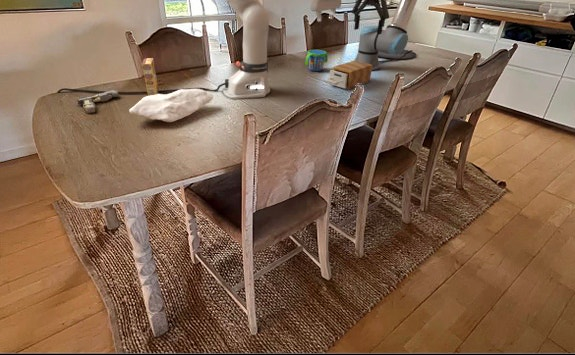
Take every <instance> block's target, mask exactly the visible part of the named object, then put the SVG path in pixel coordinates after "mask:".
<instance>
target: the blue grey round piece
mask: <svg viewBox="0 0 575 355" xmlns="http://www.w3.org/2000/svg"><path fill="white" fill-rule="evenodd" d="M408 51H409V50H408V49H404V50H403V51H402V52H401V53H400V54H398V55H393V54H392V55H391V54H388V53H383V52H379V51H378V57H380V58H386V59H397V58H399V60H404V59H405V60H406V59H412V58H415V57H416V56H417V54H416V52H414V51H412V52H409V53H407V54H406V55H405V56H404V57H402V56H403V55H404V54H405V53H406V52H408ZM400 57H402V58H400Z"/></svg>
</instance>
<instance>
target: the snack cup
mask: <svg viewBox="0 0 575 355" xmlns="http://www.w3.org/2000/svg"><path fill="white" fill-rule="evenodd" d="M325 63H328V53H327V51H325V50H322V49H309V50H307V54H306V57H305V61H304V64H305V66H306V67H308V68H309V70H310V71H312V72H321V71H323V69H324V64H325Z"/></svg>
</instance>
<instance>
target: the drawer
mask: <svg viewBox="0 0 575 355" xmlns="http://www.w3.org/2000/svg"><path fill="white" fill-rule="evenodd" d="M348 79H349V73H346V72H343V71H339V70H335V71H334V70H333V69H330V70H329V78H326V77H325V78H324V79H323V82H324V83H326V84H329V85H333V86H336V87H338V88H342V89H346V86H348Z"/></svg>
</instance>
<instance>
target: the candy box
mask: <svg viewBox="0 0 575 355" xmlns="http://www.w3.org/2000/svg"><path fill="white" fill-rule="evenodd" d="M141 66H142V73H143V78H144V82H145V87H146V91H147V93H146V94H147V96H150V95H156V94H159V93H158V91H160V89H159V84H158V79H157V73H156V66H155V62H154V58H153V57H151V58H150V57H149V58H146V57H145V58H143V60H142V63H141Z"/></svg>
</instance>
